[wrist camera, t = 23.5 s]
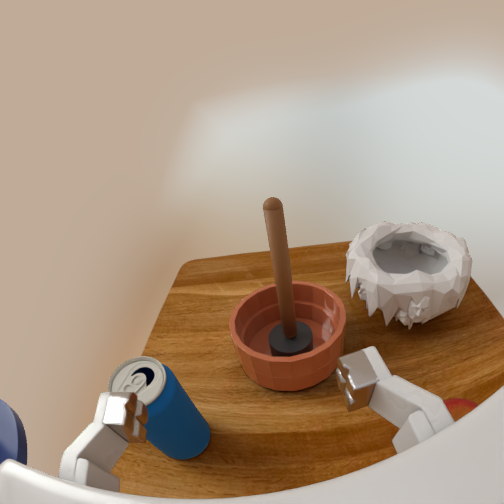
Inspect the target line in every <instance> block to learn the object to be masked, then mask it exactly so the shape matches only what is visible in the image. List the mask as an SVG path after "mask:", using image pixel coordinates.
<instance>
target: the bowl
mask: <svg viewBox="0 0 504 504" xmlns="http://www.w3.org/2000/svg"><path fill="white" fill-rule="evenodd" d="M349 245H350V248H349V250H348V252H347V254H346V257H347V269H346V283H347V282H348V281H349V280H350V287H351V296H352V297H353V295H354V293H355V291H356V288H357V287H358V288H359V289H360V290H359V291H358V293H359V296H360V299H361V300H366V310H367V308H368V311H369V317H370V316H372V315H373V314H374V312H375V311H376V309H377V308H379V309H380V310H382V311H383V315H384V319H385V323H386V326H387V325H388V323H389V322H390V320H391V319H392V318H393V317H395V320H396V322H397V320H398V319H399V320H400V321H401V322H402V323H403V324H404V325H408V330H409V329H411V327H412V325H413V322H415V323H416V322H422V324H423V323H425V322H427V321H428V320H430V319H432V318H434V317H436V316H438V315H441V314H443V313H445V312H447V311H448V310H450V309H452V308H454V307H455V308H456V309H457V308H458V306H459V304H460V303H461V301H462V299H463V297H464V295H465V292H466V289H467V287H468V284H469V281H470V274H471V267H472V258H471V257H470V255H469V252H468V248H467V245H466V241H465V240H464V238H458V237H456V236H454V235H453V234H451V233H450V232H447V231H440V230H439V229H438V228H436V227H434V226H431V225H429V224H425V223H417V224H416V223H409V224H396V225H395V224H392V223H389V222H386V221H384V222H381V223H378V224H375V225H372V226H369V227H368V228H366V229H364V230H362V231H361V232H359V233H358V235H357V236H356V237H355V239H354V240H353V241H352V242H351V243H350V244H349Z"/></svg>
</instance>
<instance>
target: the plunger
mask: <svg viewBox="0 0 504 504" xmlns="http://www.w3.org/2000/svg"><path fill="white" fill-rule="evenodd" d="M263 210H264V216H265V222H266V228H267V234H268V240H269V247H270V253H271V259H272V265H273V272H274V278H275V284H276V291H277V297H278V304H279V310H280V317H281V323H280V324H278V325H276V326H275V327H274V328H273V329H272V330H271V331H270V333H269V337H268V339H269V345H270V350H271V354H272V356H273V357H291V356H295V355H299V354H303V353H307V352H310V351H312V350H313V333H312V330H311V328H310V327H309V326H308V325H307V324H305V323H303V322H300V321H296V313H295V303H294V294H293V285H292V276H291V267H290V259H289V251H288V244H287V235H286V228H285V220H284V213H283V206H282V203H281V201H280V200H279V199H277V198H274V197H271V198H268V199H267V200H266V201H265V202H264V204H263Z"/></svg>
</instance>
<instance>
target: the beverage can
mask: <svg viewBox="0 0 504 504" xmlns="http://www.w3.org/2000/svg"><path fill="white" fill-rule="evenodd" d="M108 392H134V393H135V394H136V395H137V396H138V397H137V399H138V400H140V401H142V402H143V403H144V404H145V406H146V408H147V411H148V421H147V423H146V424H145V425H144V426H145V428H146V430H147V433H146V439H147V440H148V441H149V442H151V443H152V444H153V445H154V446H156V447H157V448H158V449H159V450H161V451H162V452H163V453H165V454H166V455H168V456H169V457H172V458H175V459H189V458H193V457H195V456H197V455H198V454H200V453H201V452H202V451H203V450H204V449H205V448H206V447H207V445H208V443H209V440H210V428H209V425H208V423H207V422H206V421H205V419H204V418H203V416H202V415H201V414H200V412H199V411H198V410H197V408H196V407H195V405H194V404H193V402H192V401H191V400H190V398H189V397H188V395H187V394H186V392H185V391H184V389H183V388H182V386H181V385H180V383H179V382H178V380H177V378H176V377H175V375H174V374H173V372H172V371H171V370H170V369H169V368H168V367H167V366H165V365H164V364H161V363H160V362H159V361H158V360H156V359H154V358H151V357H146V356H142V357H136V358H132V359H130V360H128V361H125V362H124V363H122V364H121V365H120V366H119V367H117V368H116V370H115V371H114V372H113V373H112V375H111V377H110V379H109V382H108Z"/></svg>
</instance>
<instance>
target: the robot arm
mask: <svg viewBox="0 0 504 504" xmlns="http://www.w3.org/2000/svg"><path fill="white" fill-rule="evenodd" d="M336 363H337V366H338V368H337V369H336V374H335V375H336V381H337V384H338V387H339V390H340V391H342V392H343V393H344V398H343V400H344V402H345V405H346V407H347V409H348V412H350V411H353V410H357V409H360V408H363V407H365V406H368V405H369V406H368V407H369V408H371V409H372V410H374V411H375V412H377V413H378V414H379V415H381V416H382V417H384V418H385V419H387V420H388V421H389V422H391V423H392V424H394V425H395V426H397V427H398V428H400V430H399V431H398V433H397V434H396V435H395V437H394V438H393V440H392V442H393V445H394V447H395V449H396V452H397V455H395V456H392V457H390V458H388V459H386V460H383V461H381V462H378V463H376V464H374V465H371V466H369V467H366V468H363V469H361V470H358V471H355V472H352V473H349V474H346V475H343V476H340V477H337V478H334V479H330V480H327V481H323V482H320V483H316V484H312V485H308V486H304V487H299V488H295V489H290V490H285V491H279V492H274V493H267V494H261V495H253V496H244V497H233V498H217V499H174V498H158V497H148V496H139V495H132V494H125V493H119V487H120V479H119V478H118V477H116V476H114V475H113V474H111V473H110V472H111V470H112V469H113V467H114V466H115V464H116V463H117V461H118V460H119V458H120V457H121V455H122V454H123V452H124V451H125V449H126V448H127V446H128V445H129V443H146V433H147V430H146V428H145V426H144V425H145V424H146V423H147V421H148V411H147V408H146V406H145V404H144V403H143V402H142V401H140V400H138V399H137V397H138V396H137V395H136V394H135V393H134V392H102V393H101V395H100V397H99V401H98V405H97V409H96V413H95V418H94V422H93V423H90V424H89V425H88V426H87V428H86V429H85V430H84V431H83V432H82V433H81V434H80V435H79V436H78V437H77V438H76V440H75V441H74V442H73V443H72V444H71V445H70V446H69V447H68V448H67V449H66V450H65V451H64V453H63V455H62V460H61V465H60V470H59V476H58V477H55V476H52V475H50V474H47V473H44V472H41V471H39V470H36V469H34V468H31V467H29V466H26V465H24V464H22V463H19V462H17V461H15V460H13V459H7V460H5V461H4V462H2V463H1V464H0V504H504V385H503V386H502V387H501V388H500V389H499V390H498V391H496V392H495V393H494V394H493V395H492V396H490V397H489V398H488V399H487V400H485V401H484V402H483V403H481V404H480V405H479V406H477V407H476V408H475V409H473V410H472V411H471V412H469V413H468V414H466V415H465V416H463V417H462V418H461V419H459V420H458V421H456V422H455V421H454V420H453V418H452V416H451V414H450V413H449V411H448V409H447V407H446V406H445V404H444V402H443V401H442V399H441V397H439V396H437V395H434V394H432V393H430V392H428V391H426V390H424V389H422V388H420V387H418V386H416V385H414V384H412V383H410V382H408V381H406V380H405V379H403V378H401V377H399V376H397V375H394V376H392V375H391V373H390V371H389V370H388V368H387V366H386V364H385V363H384V361H383V359H382V358H381V356H380V354H379V352H378V351H377V349H376V348H375V347H374V346H371V347H368V348H365V349H362V350H358V351H355V352H353V353H350V354H347V355H344V356H340V357H338V358H337V362H336Z"/></svg>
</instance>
